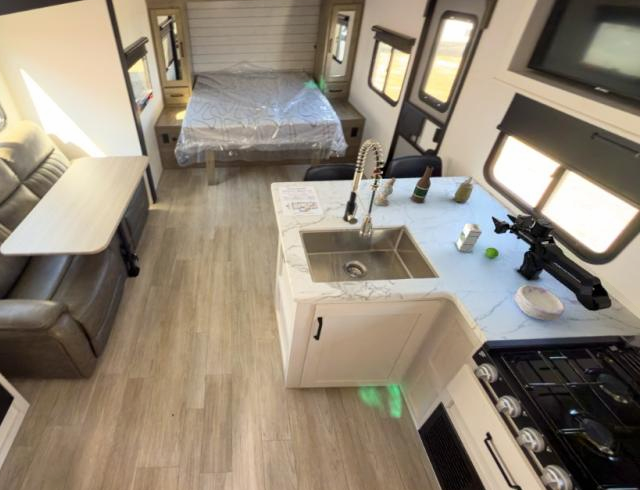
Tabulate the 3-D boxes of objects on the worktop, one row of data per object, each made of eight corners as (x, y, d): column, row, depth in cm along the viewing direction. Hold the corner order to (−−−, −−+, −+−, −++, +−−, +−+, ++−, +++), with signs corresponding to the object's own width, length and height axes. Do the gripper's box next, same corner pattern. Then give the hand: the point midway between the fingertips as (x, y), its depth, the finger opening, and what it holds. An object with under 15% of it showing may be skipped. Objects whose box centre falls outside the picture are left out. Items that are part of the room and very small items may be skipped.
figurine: (387, 208, 197) (396, 180, 185) (373, 204, 200) (381, 177, 188) (389, 200, 203) (398, 173, 191) (376, 197, 206) (384, 170, 195)
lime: (498, 259, 161) (503, 251, 158) (489, 260, 161) (494, 253, 157) (489, 252, 165) (494, 244, 162) (481, 253, 165) (485, 246, 162)
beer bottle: (411, 202, 201) (424, 169, 187) (410, 195, 207) (422, 163, 193) (424, 204, 200) (438, 171, 185) (422, 197, 206) (436, 165, 191)
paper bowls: (535, 294, 143) (545, 283, 139) (563, 324, 131) (575, 313, 127) (502, 295, 143) (511, 284, 138) (528, 325, 131) (538, 314, 126)
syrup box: (470, 252, 165) (483, 231, 157) (458, 250, 166) (470, 230, 158) (466, 245, 170) (478, 224, 161) (454, 243, 171) (466, 222, 162)
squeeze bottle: (449, 198, 204) (460, 174, 193) (458, 195, 207) (469, 172, 196) (461, 205, 198) (473, 181, 188) (469, 202, 201) (482, 178, 190)
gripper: (553, 220, 148) (523, 201, 160) (519, 225, 145) (491, 205, 157) (540, 237, 154) (512, 218, 167) (507, 243, 151) (481, 222, 164)
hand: (499, 215), depth 163 cm, fingers open, 9 cm apart
